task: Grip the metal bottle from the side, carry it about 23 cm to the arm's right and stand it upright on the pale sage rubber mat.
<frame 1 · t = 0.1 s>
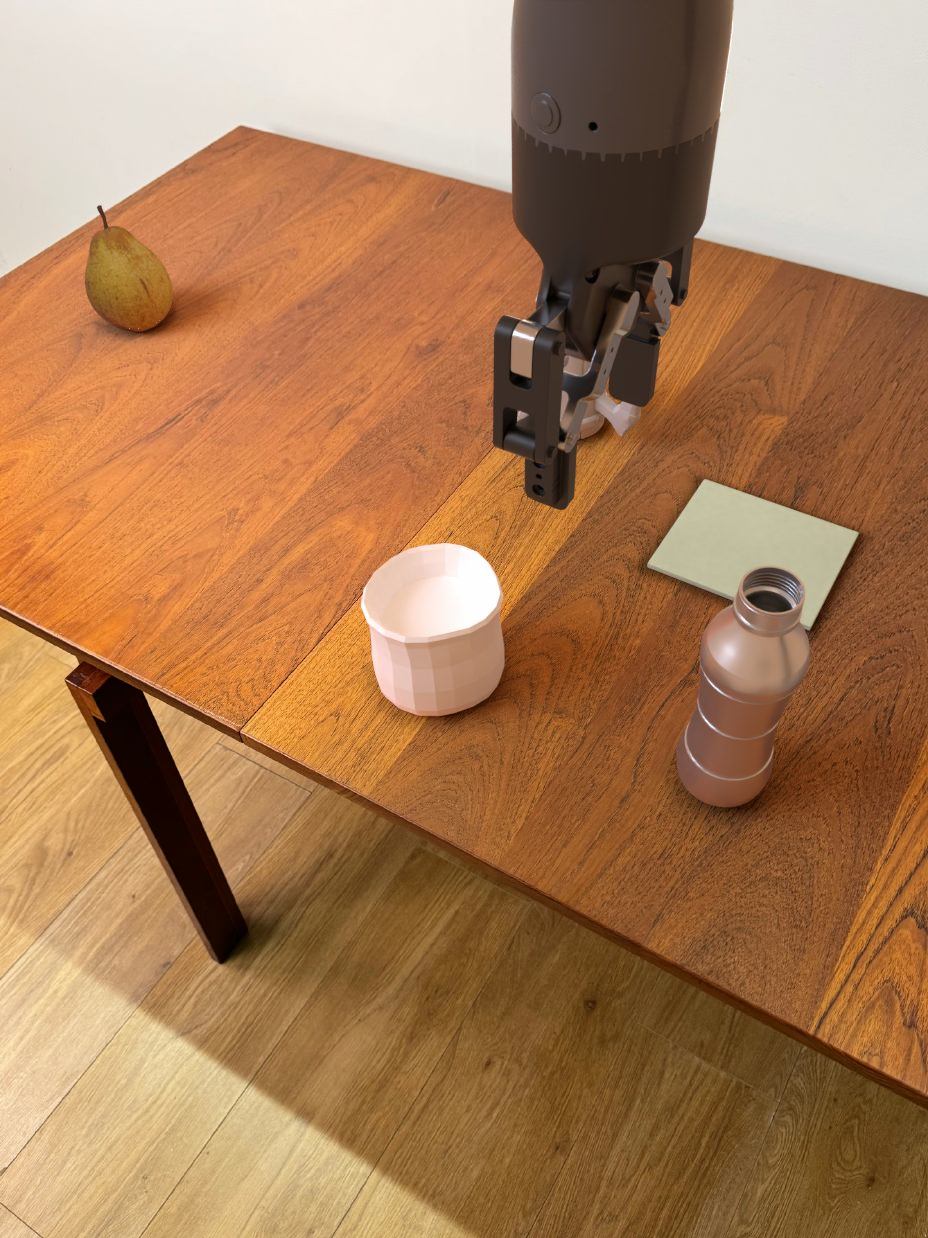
hand: (591, 447, 48), 30 cm above the table, tool pointing down, fingers open, 8 cm apart
metal bottle: (717, 779, 70), on the table
mat: (753, 551, 84), on the table
cup: (441, 675, 78), on the table
mug: (585, 427, 96), on the table
fruit: (140, 319, 111), on the table
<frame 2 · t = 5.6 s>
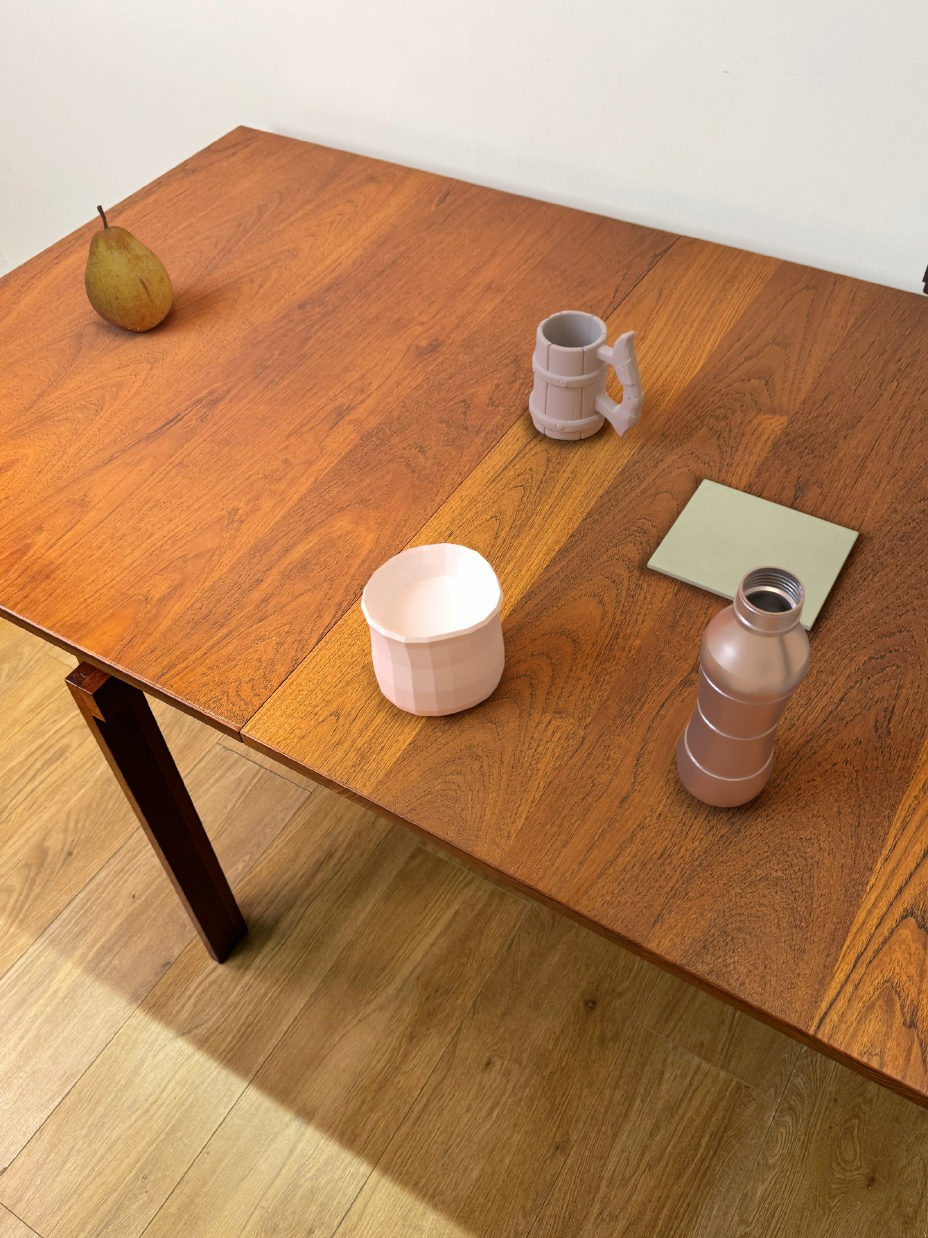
nothing on the table moved.
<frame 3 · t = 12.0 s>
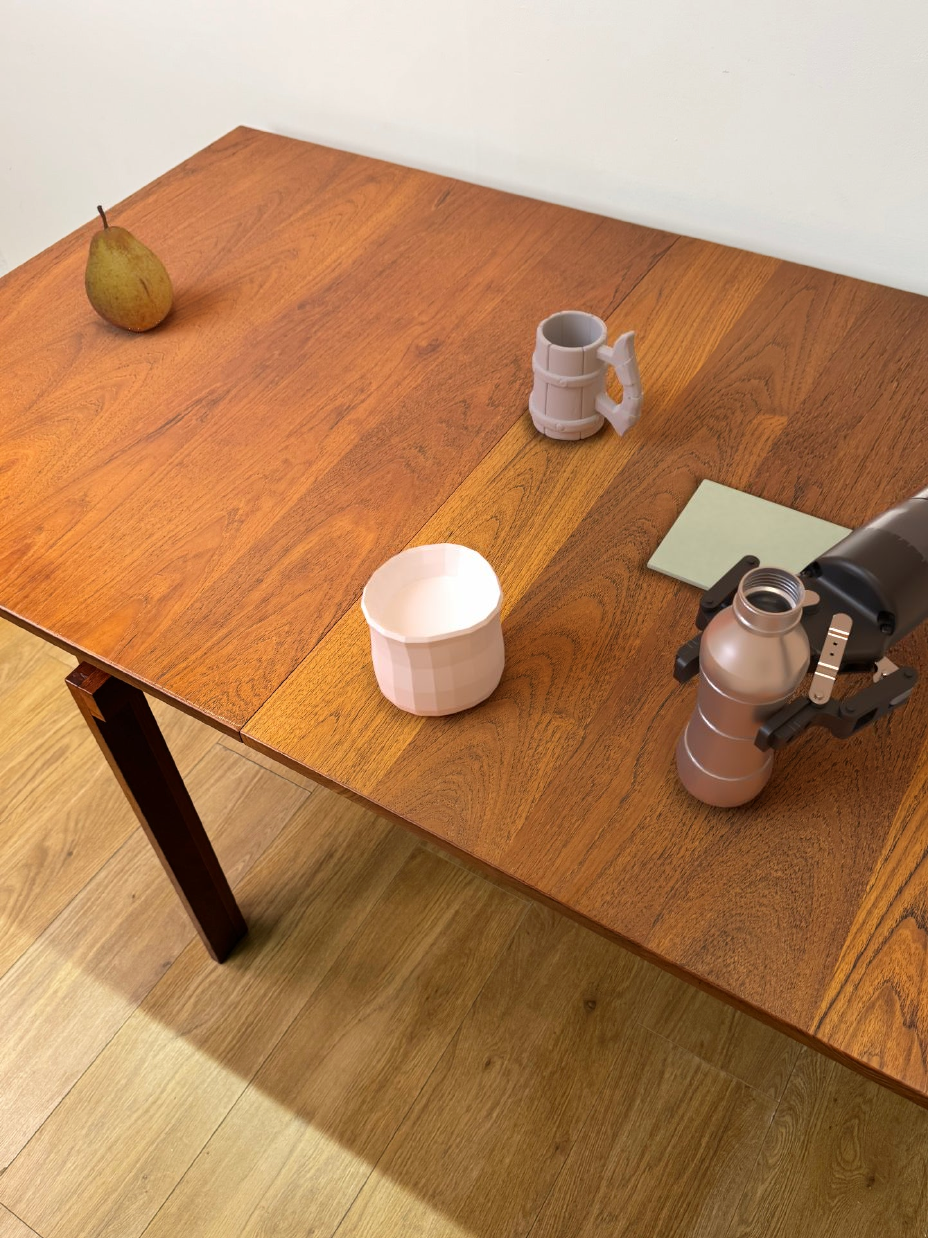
hand: (718, 705, 61), 11 cm above the table, tool horizontal, fingers closed on metal bottle, 6 cm apart
metal bottle: (717, 779, 70), on the table, touching gripper
everything else where it was.
when the fingers open (12 cm above the table, at t = 19.6 s): metal bottle stays where it is, resting on mat.
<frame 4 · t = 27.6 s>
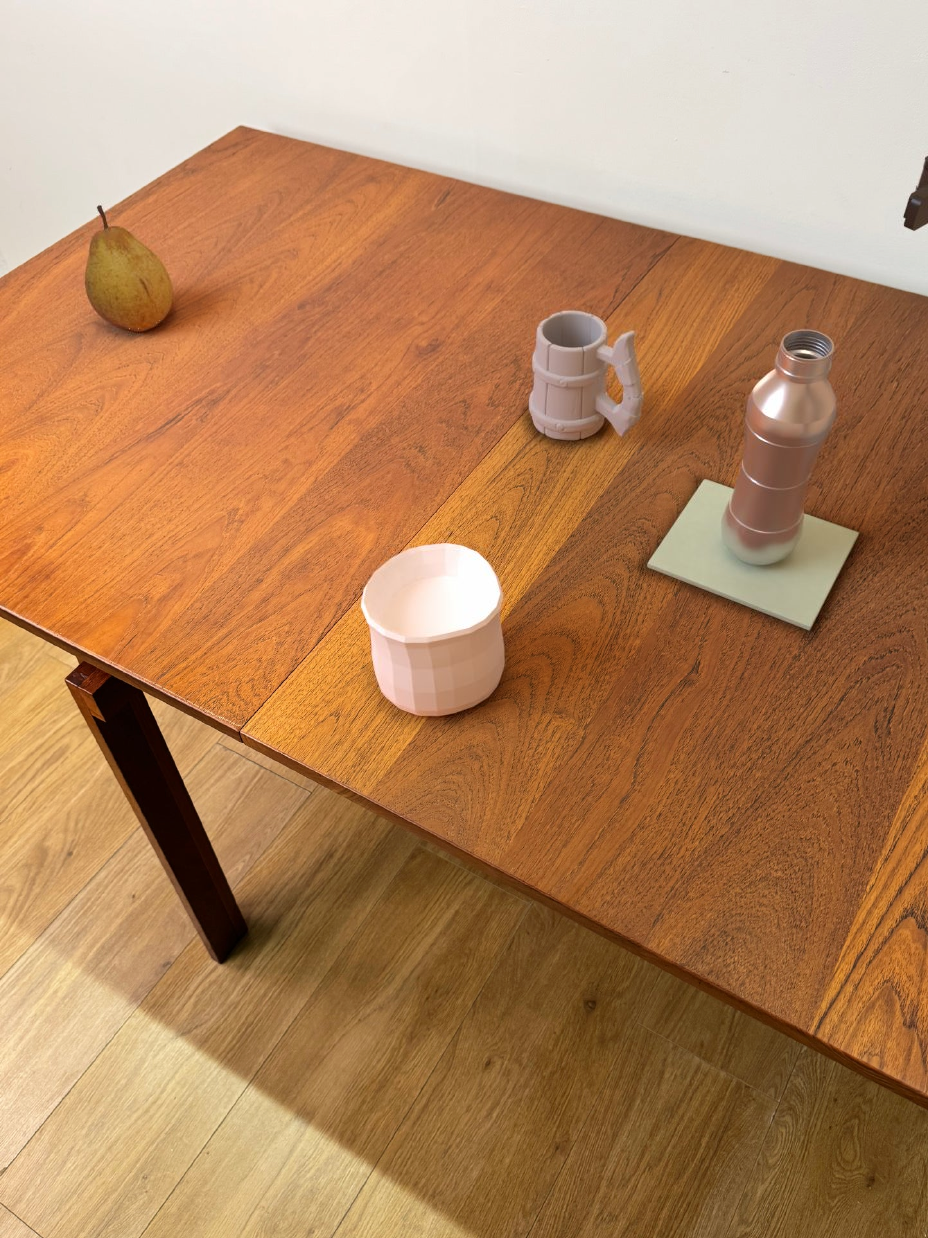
metal bottle: (755, 548, 84), resting on mat
everything else where it was.
at the end: metal bottle inside the target area on the mat (0.1 cm from its centre), point 0.3 cm above the mat's base; metal bottle tilted 0°; the gripper is holding nothing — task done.
